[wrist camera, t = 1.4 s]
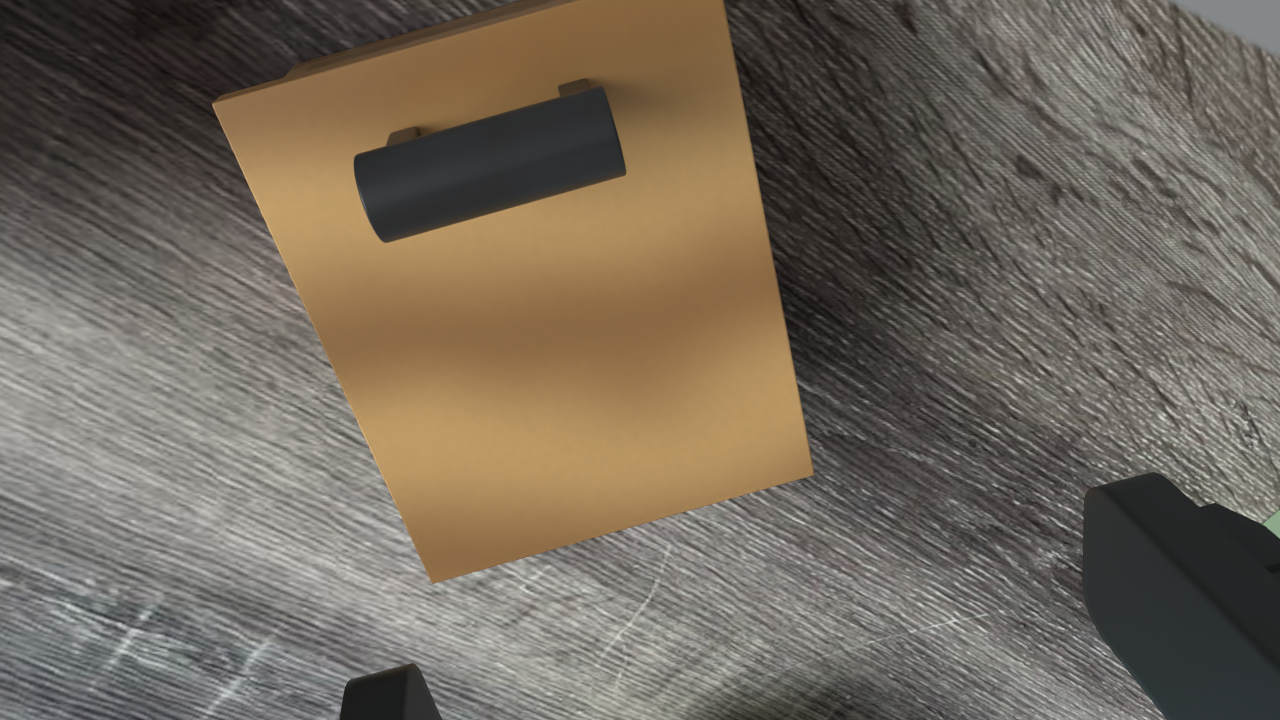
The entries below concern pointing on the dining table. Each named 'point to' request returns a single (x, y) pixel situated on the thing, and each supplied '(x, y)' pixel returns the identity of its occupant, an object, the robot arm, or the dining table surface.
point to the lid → (537, 271)
